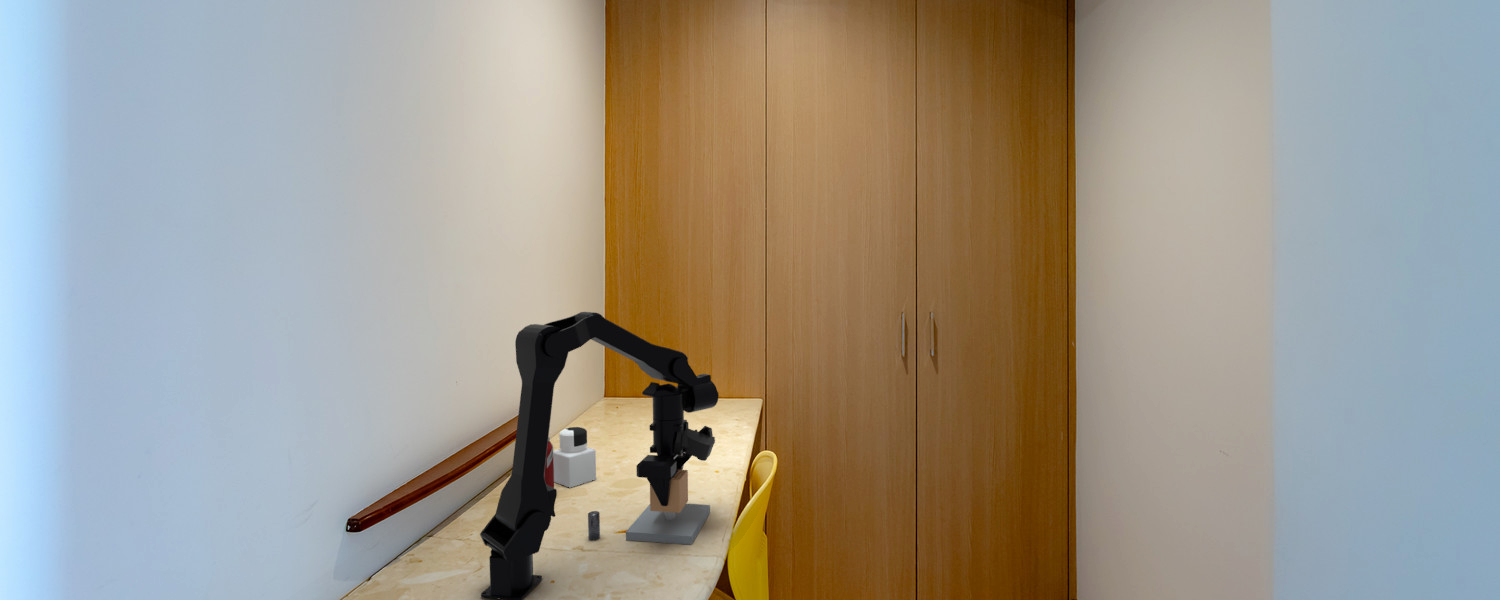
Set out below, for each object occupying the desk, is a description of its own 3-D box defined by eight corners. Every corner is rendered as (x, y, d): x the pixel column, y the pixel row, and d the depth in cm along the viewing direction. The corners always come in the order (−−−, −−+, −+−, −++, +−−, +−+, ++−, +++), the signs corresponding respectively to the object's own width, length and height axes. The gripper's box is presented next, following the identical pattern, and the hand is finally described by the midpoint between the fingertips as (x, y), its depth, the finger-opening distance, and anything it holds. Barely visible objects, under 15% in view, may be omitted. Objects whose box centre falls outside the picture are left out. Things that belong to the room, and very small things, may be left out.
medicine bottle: (578, 473, 141) (577, 423, 140) (596, 479, 136) (595, 428, 136) (551, 481, 135) (550, 429, 135) (569, 488, 131) (568, 435, 130)
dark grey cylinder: (597, 540, 105) (596, 515, 105) (586, 540, 105) (586, 515, 105) (601, 535, 107) (601, 511, 107) (591, 535, 107) (590, 510, 107)
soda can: (543, 501, 123) (542, 444, 123) (514, 499, 125) (512, 443, 124) (560, 489, 130) (558, 435, 129) (532, 487, 131) (530, 434, 131)
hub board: (691, 544, 103) (691, 513, 103) (626, 540, 105) (625, 509, 105) (710, 512, 117) (709, 485, 117) (651, 508, 119) (651, 482, 119)
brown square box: (679, 512, 108) (679, 480, 107) (650, 510, 109) (649, 478, 108) (688, 500, 113) (687, 470, 113) (659, 499, 114) (659, 468, 114)
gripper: (697, 432, 100) (698, 523, 100) (721, 407, 118) (722, 484, 119) (634, 429, 101) (636, 519, 102) (667, 405, 120) (668, 481, 121)
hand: (669, 499), depth 111 cm, fingers closed on brown square box, 6 cm apart
